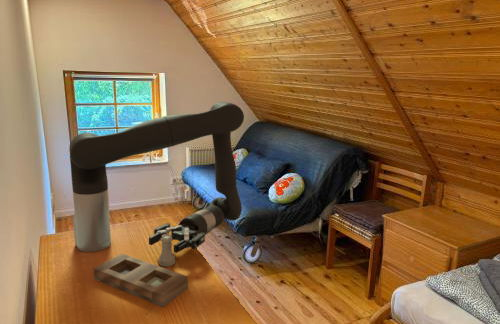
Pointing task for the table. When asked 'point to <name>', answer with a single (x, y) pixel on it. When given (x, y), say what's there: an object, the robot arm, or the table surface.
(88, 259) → the table surface
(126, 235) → the table surface
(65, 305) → the table surface
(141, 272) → the slot rail
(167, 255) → the rook chess piece
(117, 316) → the table surface
